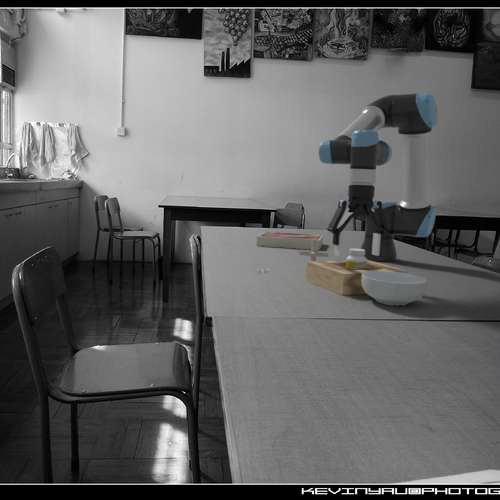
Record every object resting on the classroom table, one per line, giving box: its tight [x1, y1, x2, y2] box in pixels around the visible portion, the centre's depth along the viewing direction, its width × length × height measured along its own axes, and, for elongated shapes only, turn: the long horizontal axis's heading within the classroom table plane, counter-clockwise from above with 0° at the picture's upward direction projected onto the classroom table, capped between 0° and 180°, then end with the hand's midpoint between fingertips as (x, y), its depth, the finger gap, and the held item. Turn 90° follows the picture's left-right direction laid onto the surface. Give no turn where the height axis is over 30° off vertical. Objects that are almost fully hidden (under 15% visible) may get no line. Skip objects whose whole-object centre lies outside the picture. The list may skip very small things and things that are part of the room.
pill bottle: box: [345, 248, 367, 268], centre depth 155 cm, size 6×6×11 cm
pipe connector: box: [299, 240, 329, 262], centre depth 183 cm, size 10×10×10 cm
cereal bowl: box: [361, 271, 428, 307], centre depth 136 cm, size 17×17×7 cm
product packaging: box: [256, 231, 324, 251], centre depth 242 cm, size 22×28×5 cm
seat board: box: [306, 259, 408, 296], centre depth 155 cm, size 22×20×6 cm
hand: (356, 255), depth 154 cm, fingers open, 13 cm apart
